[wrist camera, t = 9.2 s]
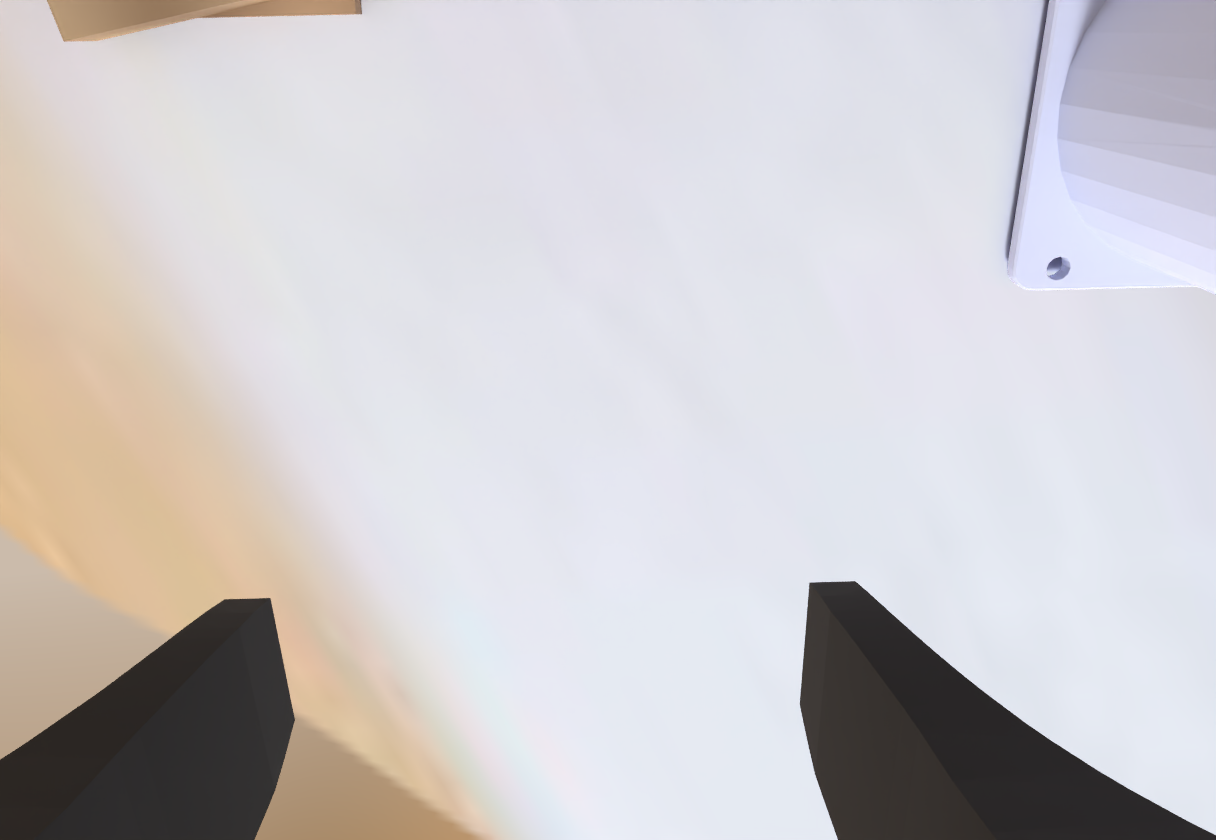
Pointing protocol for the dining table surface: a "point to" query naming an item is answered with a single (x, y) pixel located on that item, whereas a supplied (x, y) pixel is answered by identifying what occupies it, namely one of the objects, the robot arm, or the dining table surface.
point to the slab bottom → (294, 8)
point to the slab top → (130, 15)
